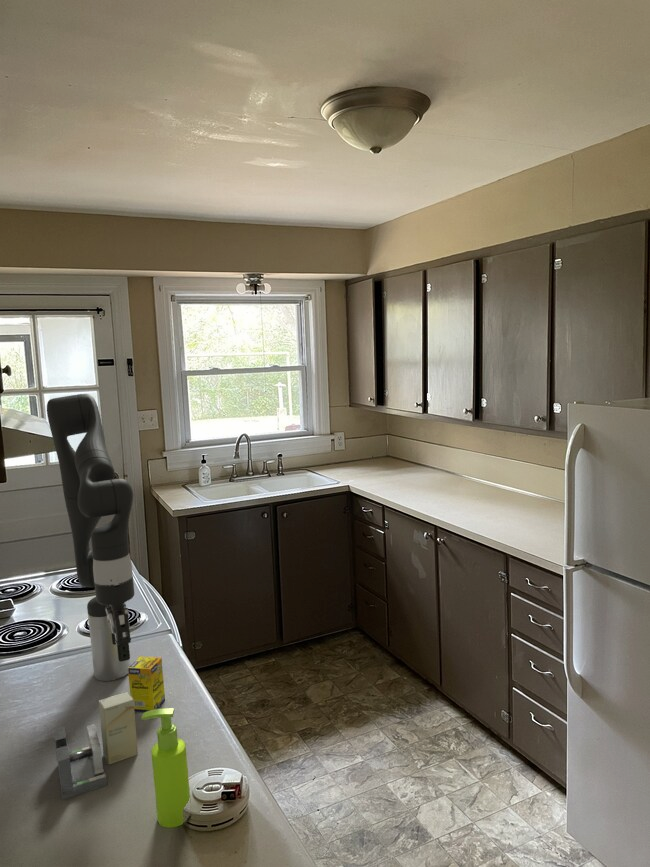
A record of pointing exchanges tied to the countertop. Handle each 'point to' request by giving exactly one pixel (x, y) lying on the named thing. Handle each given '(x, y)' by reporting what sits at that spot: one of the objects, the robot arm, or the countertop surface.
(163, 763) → the soap dispenser
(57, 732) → the grey bracket with rod
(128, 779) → the countertop surface
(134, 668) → the supplement box
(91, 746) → the grey t-shaped piece
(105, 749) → the skincare box
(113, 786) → the countertop surface
